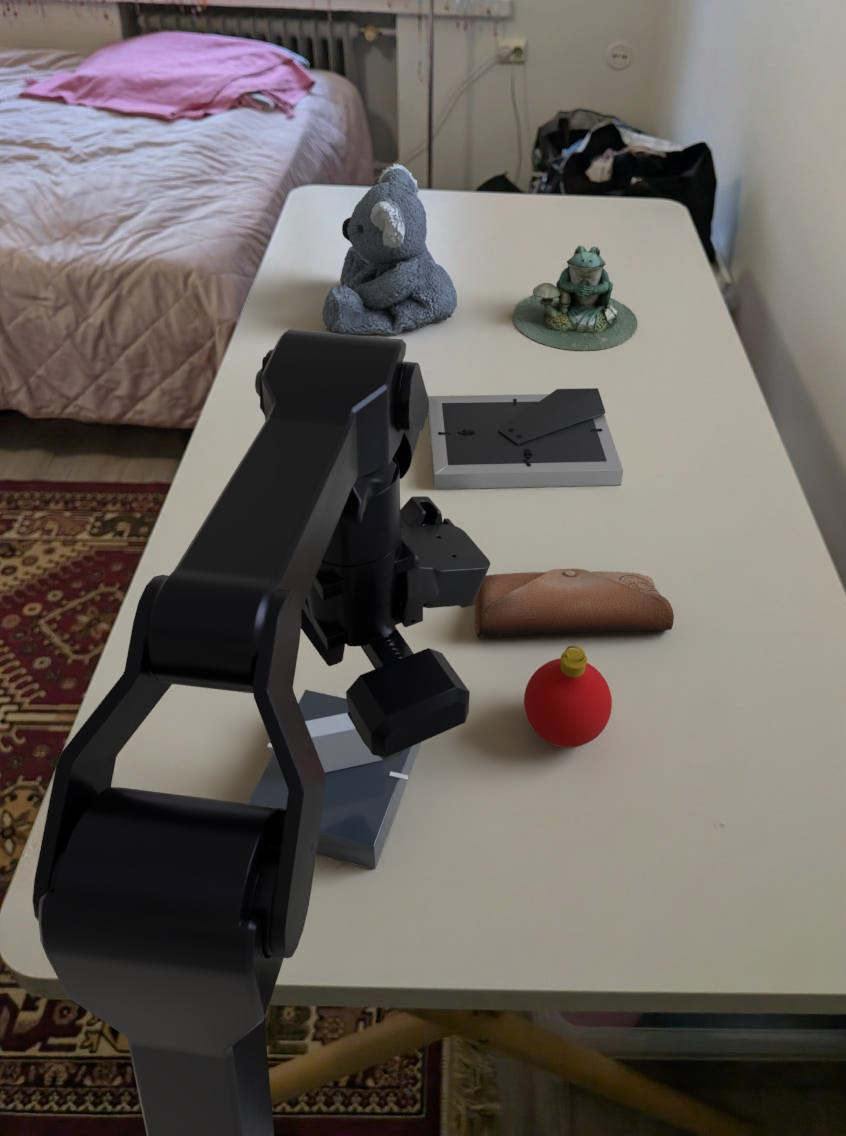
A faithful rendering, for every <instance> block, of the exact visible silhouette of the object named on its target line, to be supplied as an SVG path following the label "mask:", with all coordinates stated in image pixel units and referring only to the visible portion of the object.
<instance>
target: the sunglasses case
mask: <svg viewBox="0 0 846 1136" xmlns="http://www.w3.org/2000/svg"><path fill="white" fill-rule="evenodd" d="M474 607H475V609H474V610H475V611H474V612H475V634H476V637H478V638H479V637H482V638H496V637H511V636H524V635H538V634H547V633H586V632H627V631H628V632H631V631H640V632H641V631H642V632H643V631H647V632H648V631H671V630H672V629H673V626H674V619H675V614H674V610H673V607H672V604H671V602H669V600H668V599H667V598H666V597H664V596H663V595H661V593H660V592H659V591H658V589H656V586H655V584H654V581H653V579H652V577H650V576H649V575H644V574H641V573H637V572H636V573H635V572H627V571H625V572H623V571H590V570H587V569H582V568H554V569H549V570H548V571H531V572H509V573H495V574H488V575H487V574H486V576H485V578H484V581H483V583H482V586H481V588H480V590H479V593H478V595H477V597H476V600H475V602H474Z"/></svg>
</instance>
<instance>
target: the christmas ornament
mask: <svg viewBox="0 0 846 1136" xmlns="http://www.w3.org/2000/svg"><path fill="white" fill-rule="evenodd" d="M610 689H611V688H610V686H609V684H608V681H606V678H605V677H604V676H603V675H602V673H601V672H600V670H598V669H597V668H596V667H595V666H593V665H592V664H590V663H589V662H588V657H587V656H586V653H585V650H584V649H583V648H582V647H580V646H578V645H573V644H572V645H568V646H567V647H566V649H565V651H563V652H562V653H561V655H560V658H559V657H558V658H556V659H553V660H550V661H548V662H546V663H544V664H543V665H541V666H540V667H539V668H538V669H536V670H535V671H534V673H533V674H532V675H531V676H530V678H529V679H528V682H527V685H526V686H525V690H524V695H523V709H524V713H525V717H526V719H527V721H528V724H529V725H530V727H531V728H532V730H533V731H534V733H536V735H538V737H540V738H541V739H542V740H543V741H545V742H547V743H548V744H550V745H554V746H557V747H561V748H576V747H581V746H583V745H586V744H588V743H590V742H592V741H593V740H595V739H596V738H597V737H598V736H600V734H601V733H603V732H604V730H605V728H606V726H607V725H608V723H609V720H610V718H611V714H612V709H613V701H612V700H613V699H612V692H611V690H610Z"/></svg>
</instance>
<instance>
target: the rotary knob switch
mask: <svg viewBox="0 0 846 1136" xmlns="http://www.w3.org/2000/svg"><path fill="white" fill-rule="evenodd" d="M298 704H299V707H300V710H301V712H302V715H303V717H304V720H305V721H309V720H314V719H319V718H324V717H329V716H334V715H339V714H344V713H348V712H350V711H349V708H348V705H347V698H344V697H340V696H337V695H331V694H326V693H322V692H318V691H313V690H310V689H305V690H304V691H303V693H302V695H301V697H300V699H299V701H298ZM421 745H422V742H421V743H418V744H416V745H414V746H411V747H409V748H407V749H405V750H404V751H403V753H402V754H401V756H400V757H399V758H397V759H394V760H392V761H390V762H387V763H385V762H384V761H383V760H382V761H377V762H373V763H368V764H363V765H358V766H354V767H349V768H344V769H340V770H335V771H330V772H326V773H325V780H326V788H325V795H324V802H323V809H322V817H321V824H320V831H319V838H318V846H317V853H316V856H321V857H325V858H328V859H332V860H336V861H341V862H345V863H348V864H352V865H356V866H360V867H364V868H368V869H370V870H371V869H372V870H376V869H377V867H378V863H379V861H380V858H381V855H382V852H383V851H384V848H385V844H386V842H387V839H388V836H389V834H390V831H391V827H392V825H393V822H394V819H395V817H396V814H397V811H398V808H399V806H400V803H401V800H402V797H403V794H404V792H405V790H406V786H407V784H408V780H409V777H410V775H411V773H412V769H413V767H414V764H415V761H416V759H417V755H418V753H419V750H420V748H421ZM267 748H268V749H272V750H273V747H272V744H271V742H268V744H267ZM287 799H288V787H287V784H286V782H285V779H284V776H283V774H282V771H281V768H280V766H279V763H278V760H277V758H276V755H275V752H274V751H273V753H272V755H271V757H270V759H269V761H268V762H267V764H266V767H265V768H264V771H263V772H262V774H261V776H260V778H259V780H258V782H257V784H256V786H255V788H254V790H253V792H252V793H251V795H250V798H249V800H248V801H247V803H249V804H257V805H265V806H273V807H281V808H283V809H285V810H286V806H287Z"/></svg>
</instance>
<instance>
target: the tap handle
mask: <svg viewBox="0 0 846 1136" xmlns="http://www.w3.org/2000/svg"><path fill="white" fill-rule="evenodd" d="M305 723H306V725H307V728H308V730H309V733H310V736H311V738H312V741H313V743H314V746H315V749H316V751H317V754H318V756H319V759H320V762H321V764H322V767H323V769H324V772H325V773H326V772H330V771H335V770H340V769H344V768H349V767H354V766H358V765H363V764H368V763H373V762H377V761H382V759H381V757H380V756H376V755H372V754H371V752H370V750H369V748H368V747H367V746H366V745H365V744H364V742H363V740H362V739H361V737H360V735H359V734H358V732H357V730H356V728H355V727H354V725H353V723H352V721H351V720H350V718H349V716H348V714H347V713H344V714H339V715H334V716H329V717H324V718H319V719H314V720H309V721H305Z"/></svg>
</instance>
